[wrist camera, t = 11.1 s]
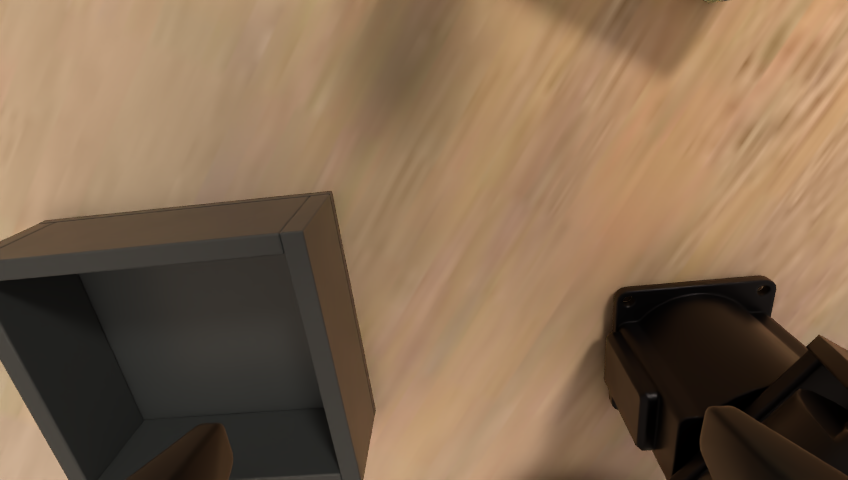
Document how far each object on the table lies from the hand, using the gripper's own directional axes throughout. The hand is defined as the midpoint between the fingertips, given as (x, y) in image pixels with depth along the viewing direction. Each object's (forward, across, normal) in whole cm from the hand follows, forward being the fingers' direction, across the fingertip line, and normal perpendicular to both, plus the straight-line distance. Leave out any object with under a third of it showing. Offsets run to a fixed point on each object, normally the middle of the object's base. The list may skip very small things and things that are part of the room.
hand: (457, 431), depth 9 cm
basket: (+12, +11, +4) cm, 16 cm away
